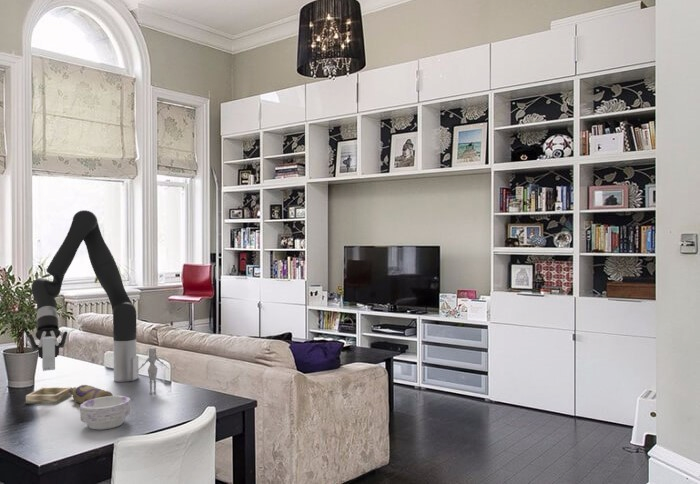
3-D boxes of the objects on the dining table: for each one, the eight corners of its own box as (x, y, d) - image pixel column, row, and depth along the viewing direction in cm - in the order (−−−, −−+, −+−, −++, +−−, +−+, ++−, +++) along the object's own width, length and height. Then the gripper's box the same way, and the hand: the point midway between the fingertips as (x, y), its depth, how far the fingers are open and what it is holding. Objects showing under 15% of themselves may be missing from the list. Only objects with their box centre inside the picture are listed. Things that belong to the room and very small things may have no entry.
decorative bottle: (115, 408, 211) (114, 389, 211) (94, 413, 205) (94, 394, 205) (82, 395, 228) (82, 378, 228) (62, 399, 222) (62, 382, 222)
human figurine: (167, 390, 234) (167, 345, 233) (169, 392, 230) (169, 347, 230) (136, 394, 228) (135, 348, 228) (137, 397, 225) (136, 350, 225)
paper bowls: (80, 422, 195) (80, 398, 195) (129, 416, 201) (129, 392, 201) (79, 436, 181) (79, 410, 181) (132, 429, 187) (132, 404, 187)
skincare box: (55, 369, 221) (55, 338, 221) (42, 371, 219) (42, 339, 219) (54, 366, 226) (54, 335, 226) (42, 368, 224) (41, 336, 224)
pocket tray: (71, 394, 228) (71, 387, 228) (56, 403, 217) (56, 395, 217) (42, 395, 229) (42, 387, 229) (25, 403, 217) (25, 395, 217)
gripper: (26, 315, 226) (27, 352, 215) (67, 313, 232) (70, 349, 222) (26, 327, 230) (27, 364, 220) (67, 324, 237) (69, 360, 227)
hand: (48, 356), depth 221 cm, fingers closed on skincare box, 4 cm apart
